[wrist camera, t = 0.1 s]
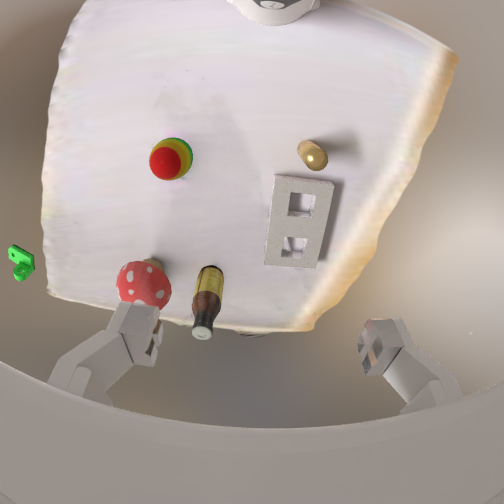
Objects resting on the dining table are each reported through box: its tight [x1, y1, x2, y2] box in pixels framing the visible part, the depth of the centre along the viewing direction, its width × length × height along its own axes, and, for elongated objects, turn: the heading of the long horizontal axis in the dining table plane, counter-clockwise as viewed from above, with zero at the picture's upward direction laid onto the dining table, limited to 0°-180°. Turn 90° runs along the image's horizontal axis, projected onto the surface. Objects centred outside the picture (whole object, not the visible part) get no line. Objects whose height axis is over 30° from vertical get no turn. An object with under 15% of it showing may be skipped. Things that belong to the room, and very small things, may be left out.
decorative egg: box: [149, 138, 193, 180], centre depth 47 cm, size 8×8×10 cm
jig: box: [264, 175, 334, 268], centre depth 58 cm, size 20×12×3 cm, turn 175°
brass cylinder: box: [297, 140, 328, 171], centre depth 47 cm, size 4×4×9 cm
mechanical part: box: [8, 245, 35, 281], centre depth 62 cm, size 12×6×8 cm, turn 65°
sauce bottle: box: [192, 265, 224, 340], centre depth 59 cm, size 6×6×20 cm
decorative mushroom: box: [116, 259, 172, 311], centre depth 60 cm, size 13×13×15 cm
